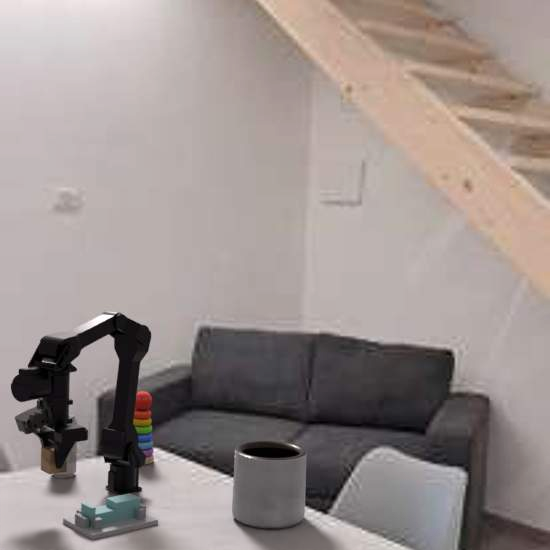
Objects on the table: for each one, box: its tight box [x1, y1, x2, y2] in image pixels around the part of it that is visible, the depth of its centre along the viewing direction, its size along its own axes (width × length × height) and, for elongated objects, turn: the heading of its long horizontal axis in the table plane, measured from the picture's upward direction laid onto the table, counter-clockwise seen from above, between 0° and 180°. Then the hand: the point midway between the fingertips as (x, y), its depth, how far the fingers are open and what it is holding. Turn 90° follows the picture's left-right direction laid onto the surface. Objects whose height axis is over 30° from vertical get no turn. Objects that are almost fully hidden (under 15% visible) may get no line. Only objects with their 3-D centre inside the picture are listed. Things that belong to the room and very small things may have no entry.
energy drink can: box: [52, 412, 78, 479], centre depth 235 cm, size 6×6×15 cm
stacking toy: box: [133, 390, 155, 466], centre depth 250 cm, size 8×8×19 cm
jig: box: [62, 502, 159, 541], centre depth 203 cm, size 16×12×3 cm
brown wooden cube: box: [40, 445, 67, 475], centre depth 205 cm, size 4×4×5 cm
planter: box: [231, 440, 308, 530], centre depth 210 cm, size 16×16×16 cm
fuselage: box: [80, 492, 141, 527], centre depth 203 cm, size 12×4×4 cm, turn 132°
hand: (54, 465), depth 205 cm, fingers closed on brown wooden cube, 4 cm apart
